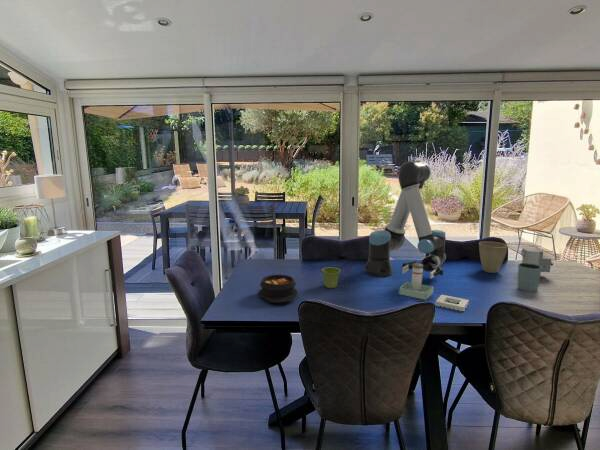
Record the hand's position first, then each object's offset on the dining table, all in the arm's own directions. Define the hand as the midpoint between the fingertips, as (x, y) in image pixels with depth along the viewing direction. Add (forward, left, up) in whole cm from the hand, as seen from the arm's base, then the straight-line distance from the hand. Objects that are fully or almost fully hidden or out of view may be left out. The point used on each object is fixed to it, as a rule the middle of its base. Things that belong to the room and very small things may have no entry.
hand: (416, 273), depth 187 cm
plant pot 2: (+24, +61, -11) cm, 66 cm away
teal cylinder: (+44, +40, -11) cm, 60 cm away
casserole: (-53, -40, -11) cm, 67 cm away
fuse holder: (+18, -4, -10) cm, 21 cm away
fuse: (0, +1, -10) cm, 10 cm away
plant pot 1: (-39, -14, -11) cm, 43 cm away
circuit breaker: (+46, +65, -11) cm, 80 cm away
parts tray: (0, +1, -10) cm, 10 cm away
